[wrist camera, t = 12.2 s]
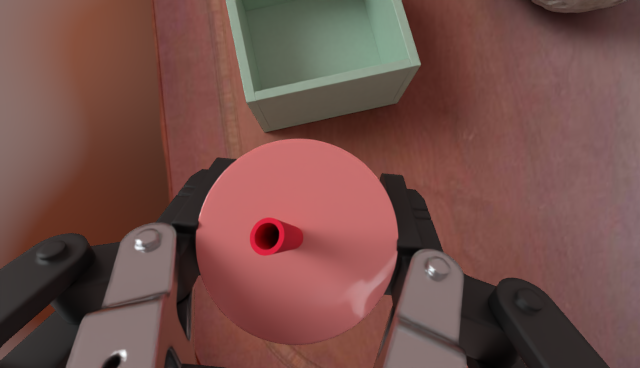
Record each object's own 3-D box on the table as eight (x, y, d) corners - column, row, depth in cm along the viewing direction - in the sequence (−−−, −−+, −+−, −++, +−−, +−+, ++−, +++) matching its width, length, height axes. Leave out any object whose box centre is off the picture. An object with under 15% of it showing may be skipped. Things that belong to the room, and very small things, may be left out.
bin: (264, 132, 30) (246, 102, 23) (239, 12, 32) (215, -51, 25) (397, 103, 30) (421, 64, 23) (364, -14, 32) (376, -83, 25)
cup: (245, 216, 16) (52, 187, 5) (323, 168, 17) (335, 28, 5) (292, 298, 16) (213, 518, 4) (373, 246, 16) (523, 299, 4)
